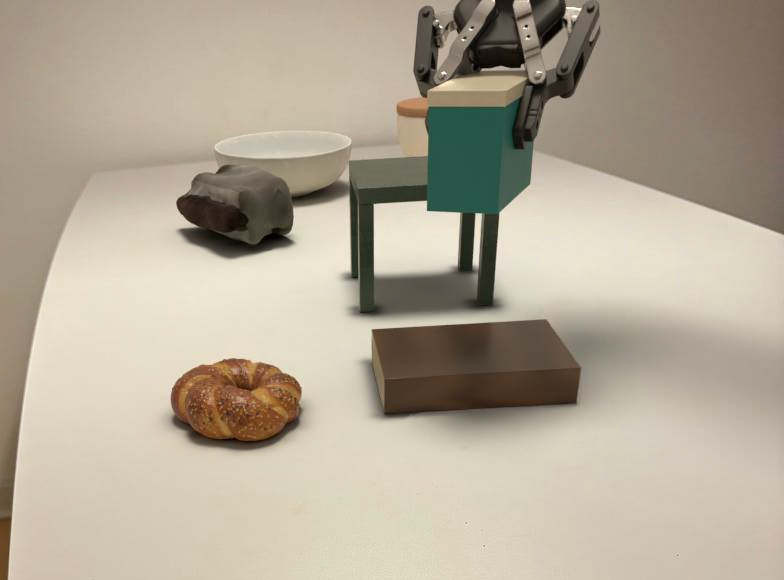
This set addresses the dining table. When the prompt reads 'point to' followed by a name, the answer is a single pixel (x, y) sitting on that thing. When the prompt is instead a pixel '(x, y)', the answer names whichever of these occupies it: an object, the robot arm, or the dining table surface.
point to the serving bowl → (290, 156)
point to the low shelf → (473, 366)
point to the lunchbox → (476, 143)
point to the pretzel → (236, 399)
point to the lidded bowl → (412, 126)
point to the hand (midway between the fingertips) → (477, 141)
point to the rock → (239, 203)
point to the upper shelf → (408, 184)
